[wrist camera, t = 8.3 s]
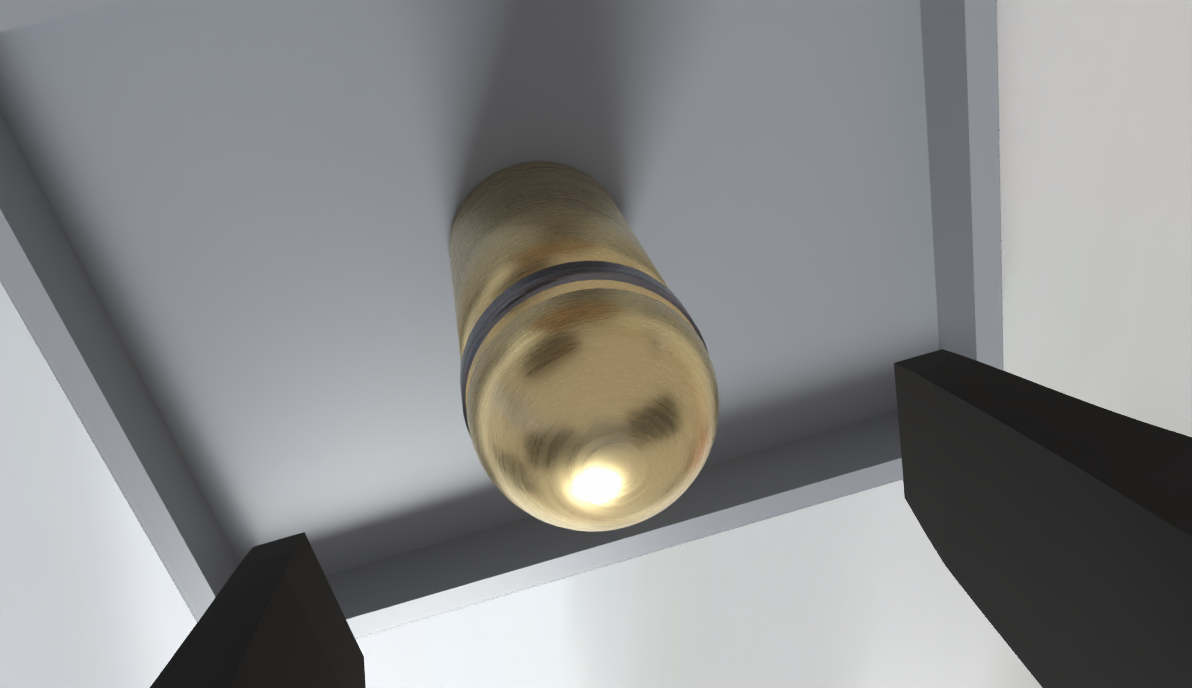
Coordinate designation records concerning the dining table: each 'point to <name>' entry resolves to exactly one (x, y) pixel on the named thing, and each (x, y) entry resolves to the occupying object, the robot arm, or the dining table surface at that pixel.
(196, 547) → the tray
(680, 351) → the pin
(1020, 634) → the robot arm
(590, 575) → the dining table surface
